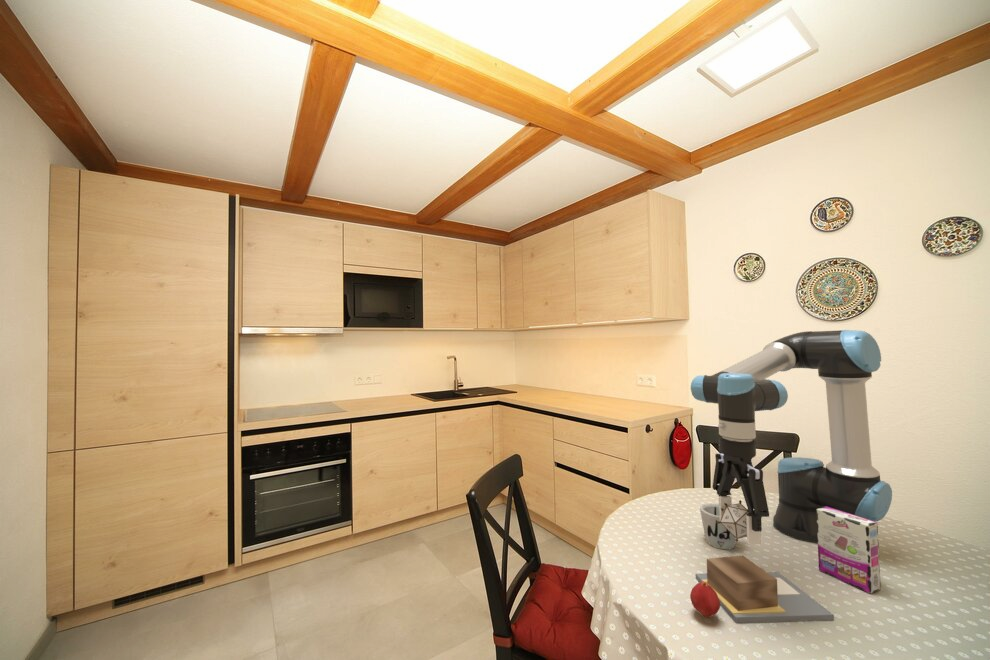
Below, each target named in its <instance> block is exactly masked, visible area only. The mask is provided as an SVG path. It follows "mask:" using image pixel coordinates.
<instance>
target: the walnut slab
mask: <svg viewBox="0 0 990 660" xmlns="http://www.w3.org/2000/svg"><path fill="white" fill-rule="evenodd" d="M767 572H768V571H766V570H764V568H762V567H761V566H759V565H757V564H756V563H755V562H753V561H752V560H750V559H749V558H748V557H746V556H744V555H735V556H734V555H733V556H721V557H712V558H711V557H710V558H706V573H707V583H708V584H709V585H710V586H711V587H712V588H713V589H714V590H715V591H716V592H718V593H719V594H720V595H721V596H722V597H723V598H724V599H725V600H726V601H728V602H729V603H730V604H731V605H732V606H733V607H734V608H735V609H737V610H738V611H742V610H751V609H760V608H768V607H777V606H778V592H777V579H776V578H775V577H773V576H772V575H770V574H769V573H767Z"/></svg>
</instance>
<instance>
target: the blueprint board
mask: <svg viewBox="0 0 990 660" xmlns="http://www.w3.org/2000/svg"><path fill="white" fill-rule="evenodd" d="M766 572H767V573H769V574H770V575H772V576H773V577H775V578H776V579H777V592H778V606H777V607H768V608H760V609H751V610H742V611H738V610H737V609H735V608H734V607H733V606H732V605H731V604H730V603H729V602H728V601H726V600H725V599H724V598H723V597H722V596H721V595H720V594H719V593H718V592H716V591H715V590H714V591H715V592H716V593H717V595H718V598H719V601H720V608H722V610H723V611H724V612H725V613H727V616H729V618H730V619H732V621H733V622H735V624H748V623H751V624H752V623H782V622H783V623H785V622H787V623H789V622H819V621H821V622H822V621H823V622H824V621H835V617H834V614H833V613H832V612H830V610H828V609H827V608H826V607H824V606H823V605H822V604H821V603H819V602H818V601H816V600H815V599H814V598H813V597H812V596H810V595H809V594H807V593H806V592H805V591H804V590H802V589H801V588H800V587H798V586H797V585H796V584H795V583H794V582H792V581H791V580H790V579H788V578H787V577H786V576H785V575H783V574H782V573H781V572H779V571H766ZM694 576H695V580H696V581H697V582H698V583H701V582H703V581H707V572H706V573H704V572H703V573H695V575H694ZM707 584H708V583H707ZM708 585H709V584H708ZM709 586H710V585H709Z"/></svg>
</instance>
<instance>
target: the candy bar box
mask: <svg viewBox="0 0 990 660" xmlns="http://www.w3.org/2000/svg"><path fill="white" fill-rule="evenodd" d="M816 512H817V536H818V543H817V555H818V560H817V561H818V571H820V572H822V573H823V574H826V575H828V576H831V577H833V578H836V580H839V581H841V582H844V583H846V584H848V585H851V586H853V587H854V586H855V588H857V589H859V590H862V591H864V592H866V593H867V594H870V595H871V594H873V593H876V592H878V591H880V590H881V589H882V587H881V586H882V585H881V583H882V582H881V567H880V563H881V562H880V546H879V527H878V525H879V524H878V521H876V522H874V521H871V520H868V519H865V518H862V517H859V516H855V515H852V514H849V513H846V512H843V511H839V510H836V509H833V508H830V507H827V506H826V507H822V508H819V509H816Z"/></svg>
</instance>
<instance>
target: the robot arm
mask: <svg viewBox="0 0 990 660" xmlns="http://www.w3.org/2000/svg"><path fill="white" fill-rule="evenodd" d="M881 362H882V353H881V350H880V347H879V345H878V342H877V340H876V339H875V338H874V336H873V335H871V334H870V333H869V332H867V331H865V330H864V331H863V330H849V329H844V330H843V329H842V330H824V331H823V330H821V331H820V330H818V331H817V330H816V331H815V330H814V331H813V330H812V331H808V330H807V331H801V332H796V333H792V334H789V335H787V336H783V337H781V338H778V339H776V340H774V341H771V342H769V343H768V344H766V345H765V346H764V347H763V349H762V350H760V351H759V352H757V353H754V354H753V355H751V356H749V357H747V358H745V359H743V360H741V361H739V362H737V363H735V364H733V365H731V366H728V367H726V368H725V369H722V370H720V371H718V372H716V373H714V374H713V375H712V374H711V375H707V374H705V375H704V374H703V375H696V376H695V377H694V378H693V379H692V381H691V383H690V392H691V395H692V396H693V398H694V399H695V400H696V401H700V402H705V403H706V404H707V403H709V404H710V403H711V404H717V405H718V407H717V408H718V435H720V437H718V451H719V452H720V453H715V457H714V458H715V466H714V474H713V478H712V479H713V480H712V481H713V482H712V489H713V490H714V491H716V494H717V495H718V504H719V514H720V520H721V517H722V513H723V511H722V510H721V508H723V509H725V507H726V506H725V505H724V503H727V505H733V503H732V492H731V490H732V487H733V486H734V485H733V484H734V482H735V480H736V482H737V484H738V485H740V488H741V491H742V495H743V499H744V500H745V501H744V502H745V505H746V509H748V511H749V513H747V514H746V519H747V537H746V543H747V544H748V545H749V546H751V545H752V546H754V545H756V546H757V545H759V546H761V545H762V526H763V525H762V524H763V523H762V519H763V518H765V517H766V518H768V517H770V512H769V505H768V501H767V495H766V490H765V486H764V471H763V470H762V469H761V468H760V469H759V468H758V469H757V468H755V467H754V466H753V463H752V460H753V458H755V457H756V456H757V445H756V443H757V442H756V441H755V440H754V439H756V438H757V433H756V412H760V411H761V412H763V411H773V410H776V409H780V408H782V407H784V406H785V405H786V403H787V401H788V398H789V395H788V391H787V388H786V387H785V385H784V384H782V383H781V382H780V381H777V380H775V379H768V378H770V377H771V376H773V375H775V374H777V373H779V372H788V371H790V370H793V369H811V370H817V372H818V375H817V376H818V377H819V378H820V379H821V380H822V381H824V383H825V389H826V391H825V392H826V402H827V403H826V404H827V414H828V415H827V416H828V426H829V427H828V428H829V429H828V430H829V440H830V450H831V451H830V452H831V461H829V462H828V463H826V465H825V464H824V462H823V461H822V460H820V459H817V458H811V457H784V458H781V459H780V460H779V461H778V465H777V482H778V505H777V507H776V510H775V513H774V516H773V518H772V523H773V527H774V528H775V530H777V531H778V532H780V533H782V534H784V535H785V536H788V537H789V538H793V539H797V540H800V541H804V542H808V543H815V544H816V543H817V544H818V536H817V512H816V509H819V508H822V507H826V506H827V507H830V508H833V509H836V510H839V511H843V512H846V513H849V514H852V515H855V516H859V517H862V518H865V519H868V520H871V521H874V522H879V521H881V520H883V519H884V518H885V517H886V515H887V513H888V512H889V510H890V508H891V504H892V501H893V500H892V499H893V490H892V487H891V485H890V483H888V482H886V481H885V480H881V473H880V471H879V470H877V469H876V467H874V466H873V464H872V453H871V439H870V427H869V415H868V404H867V392H866V391H867V390H866V384H867V382H868V381H869V380H871V379H872V378H873V375H872V373H874V372H877V371H878V370H879V369H880V367H881Z"/></svg>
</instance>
